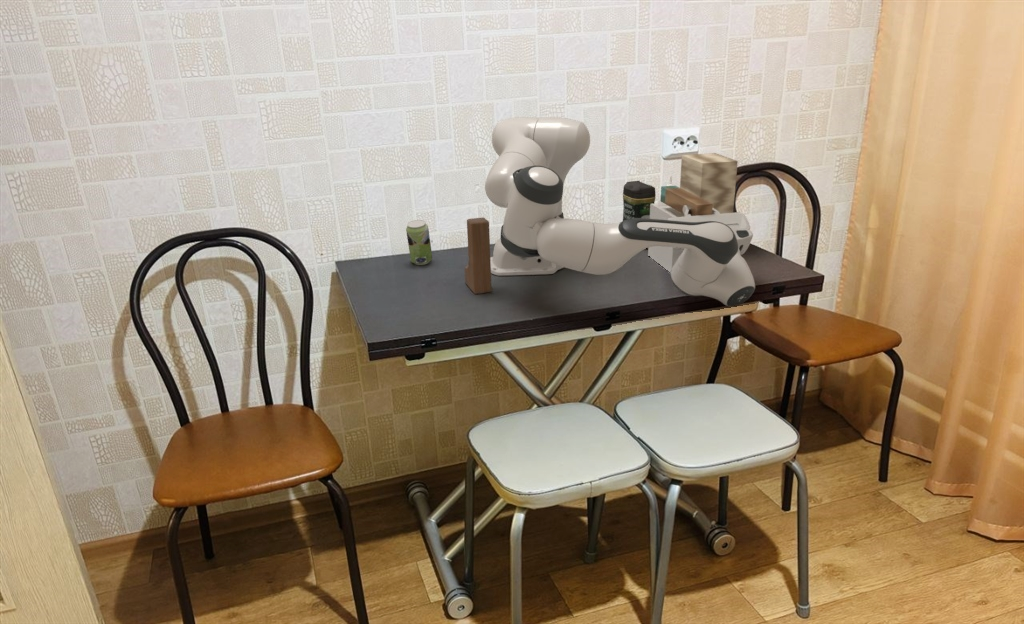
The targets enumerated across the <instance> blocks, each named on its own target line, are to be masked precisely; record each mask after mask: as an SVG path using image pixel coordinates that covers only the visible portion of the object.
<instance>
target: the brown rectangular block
mask: <svg viewBox="0 0 1024 624" xmlns="http://www.w3.org/2000/svg"><path fill="white" fill-rule="evenodd" d="M660 195H661V202H663V203H664V204H666V205H668V206H670V207H671V208H673V209H675V210H677V211H679V212H680V213H682V214H684V213H683V210H682V209H683V206H684V205H690V207H691V209H692V210H691V213H690V215H691V216H698V215H710V214H712V207H713V204H712V203H710V202H708V201H706V200H704V199H702V198H700V197H698V196H696V195H693V194H691V193H689V192H687V191H685V190H683V189H681V188H680V186H677V185H675V186H666V185H665V186H660Z"/></svg>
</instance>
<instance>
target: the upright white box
mask: <svg viewBox="0 0 1024 624" xmlns="http://www.w3.org/2000/svg"><path fill="white" fill-rule="evenodd" d="M673 217H684V214H682V213H680V212H679V211H677V210H675V209H673V208H671V207H670V206H660V207H658V206H657V204H655V203H654V204H653V203H652V204H650V219H659V220H667V219H668V218H673ZM647 250H648V251H647V257H648V256H650V257H651V258H652V259H654V260H655V261H656V262H657V263H659V264H660V265H661V266H663V267H664V268H665V269H666V270H668V271H669V272H671V270H672V268H673V266H674V264H675V263H676V261H677V259H678V258H679V256H680V255H681V253H682V252H683V250H680V249H678V248H674V247H663V246H653V247H649V248H647ZM651 258H650V259H651ZM652 259H651V260H652ZM656 262H655V263H656ZM657 263H656V264H657ZM660 265H659V266H660ZM661 266H660V267H661ZM664 268H663V269H664ZM665 269H664V270H665ZM666 270H665V271H666ZM669 272H668V273H669Z"/></svg>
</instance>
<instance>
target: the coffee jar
mask: <svg viewBox="0 0 1024 624" xmlns="http://www.w3.org/2000/svg"><path fill="white" fill-rule="evenodd" d="M622 201H623V209H622V210H623V211H622V212H623V213H622V221H624V220H627V219H630V218H646V219H650V204H652V203H653V204H655V202H656V188H655V186H652V185H651V184H647V183H645V182H642V181H640V180H633V181H627V182H626V183H625V184H624V185H623V190H622Z"/></svg>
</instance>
